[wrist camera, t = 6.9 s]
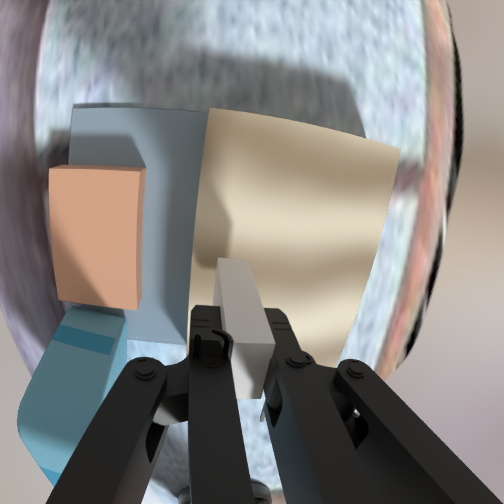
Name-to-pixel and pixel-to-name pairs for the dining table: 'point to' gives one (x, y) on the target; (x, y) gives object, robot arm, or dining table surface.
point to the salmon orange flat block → (97, 233)
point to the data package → (70, 386)
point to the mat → (152, 204)
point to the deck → (292, 219)
